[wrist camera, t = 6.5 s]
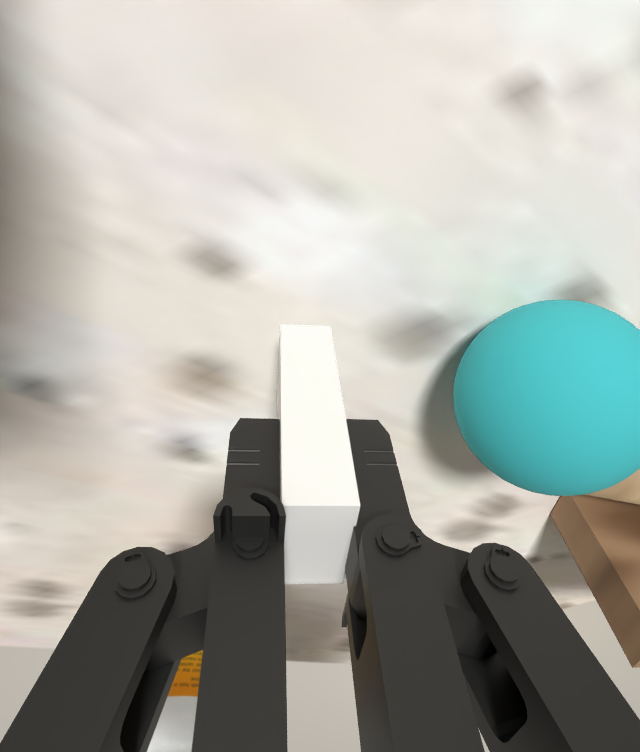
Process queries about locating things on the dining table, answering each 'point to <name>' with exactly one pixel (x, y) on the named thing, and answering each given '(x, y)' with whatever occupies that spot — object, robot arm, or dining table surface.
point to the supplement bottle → (179, 709)
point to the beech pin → (623, 490)
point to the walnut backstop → (607, 559)
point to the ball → (553, 397)
